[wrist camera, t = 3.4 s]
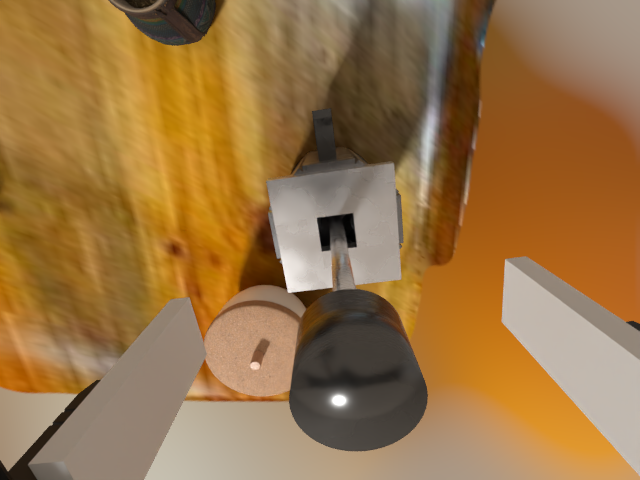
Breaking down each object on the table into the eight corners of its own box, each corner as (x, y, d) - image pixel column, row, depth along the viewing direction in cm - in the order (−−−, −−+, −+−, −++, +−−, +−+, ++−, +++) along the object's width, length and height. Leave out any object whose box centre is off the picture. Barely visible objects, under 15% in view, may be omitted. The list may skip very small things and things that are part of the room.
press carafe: (274, 121, 32) (244, 120, 19) (370, 106, 31) (400, 96, 19) (295, 239, 36) (281, 301, 23) (380, 229, 35) (410, 285, 23)
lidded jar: (239, 353, 41) (216, 417, 32) (213, 278, 37) (180, 326, 29) (323, 340, 40) (323, 402, 31) (305, 261, 37) (299, 306, 28)
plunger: (294, 184, 25) (228, 322, 8) (367, 174, 25) (468, 294, 7) (305, 252, 27) (272, 484, 10) (373, 243, 26) (465, 467, 9)
